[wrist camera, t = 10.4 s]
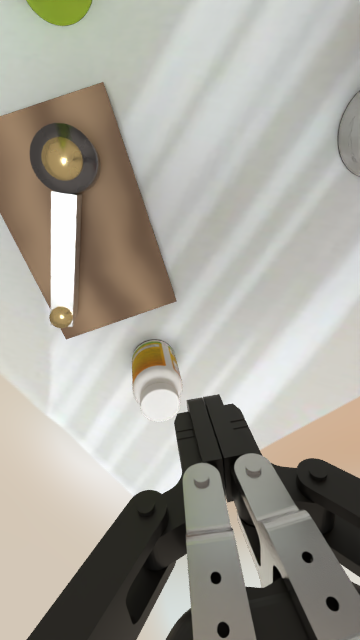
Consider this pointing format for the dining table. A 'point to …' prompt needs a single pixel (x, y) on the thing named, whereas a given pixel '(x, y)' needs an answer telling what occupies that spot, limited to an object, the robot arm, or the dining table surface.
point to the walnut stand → (85, 214)
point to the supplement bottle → (156, 380)
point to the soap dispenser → (60, 10)
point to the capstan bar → (64, 207)
